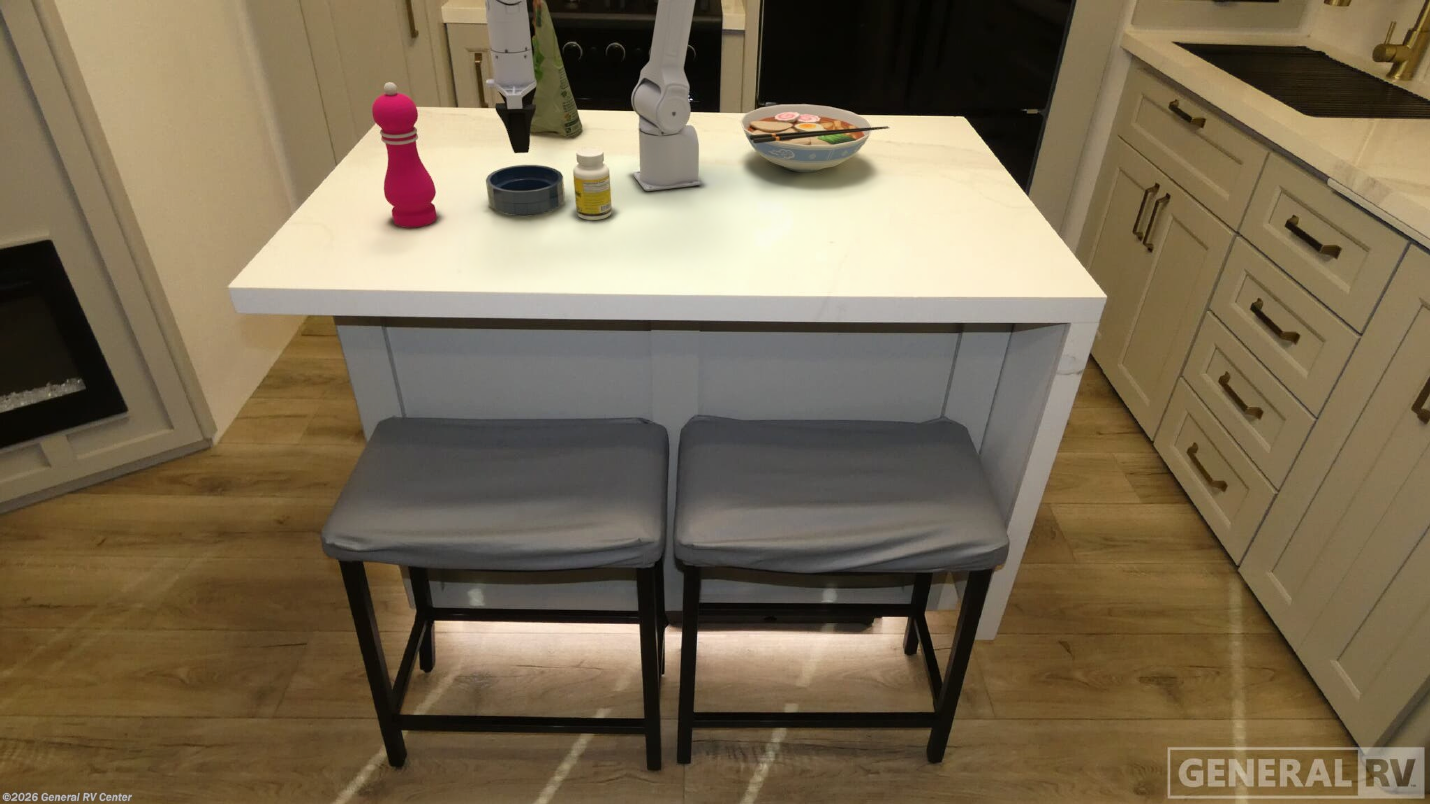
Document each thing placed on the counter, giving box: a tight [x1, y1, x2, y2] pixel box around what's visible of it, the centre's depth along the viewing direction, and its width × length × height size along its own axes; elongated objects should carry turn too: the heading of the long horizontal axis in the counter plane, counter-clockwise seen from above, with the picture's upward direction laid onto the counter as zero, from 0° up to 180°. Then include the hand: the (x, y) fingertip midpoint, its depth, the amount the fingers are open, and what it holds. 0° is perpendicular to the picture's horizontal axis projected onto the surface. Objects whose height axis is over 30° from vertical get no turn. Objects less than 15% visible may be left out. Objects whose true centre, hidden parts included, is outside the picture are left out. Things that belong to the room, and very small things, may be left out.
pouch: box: [530, 0, 583, 137], centre depth 157 cm, size 11×12×25 cm
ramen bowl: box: [739, 103, 890, 173], centre depth 150 cm, size 25×23×8 cm
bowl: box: [485, 164, 566, 217], centre depth 134 cm, size 12×12×4 cm
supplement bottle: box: [572, 146, 613, 221], centre depth 130 cm, size 5×5×10 cm
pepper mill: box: [371, 81, 438, 228], centre depth 124 cm, size 7×7×20 cm
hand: (521, 143), depth 130 cm, fingers open, 7 cm apart
